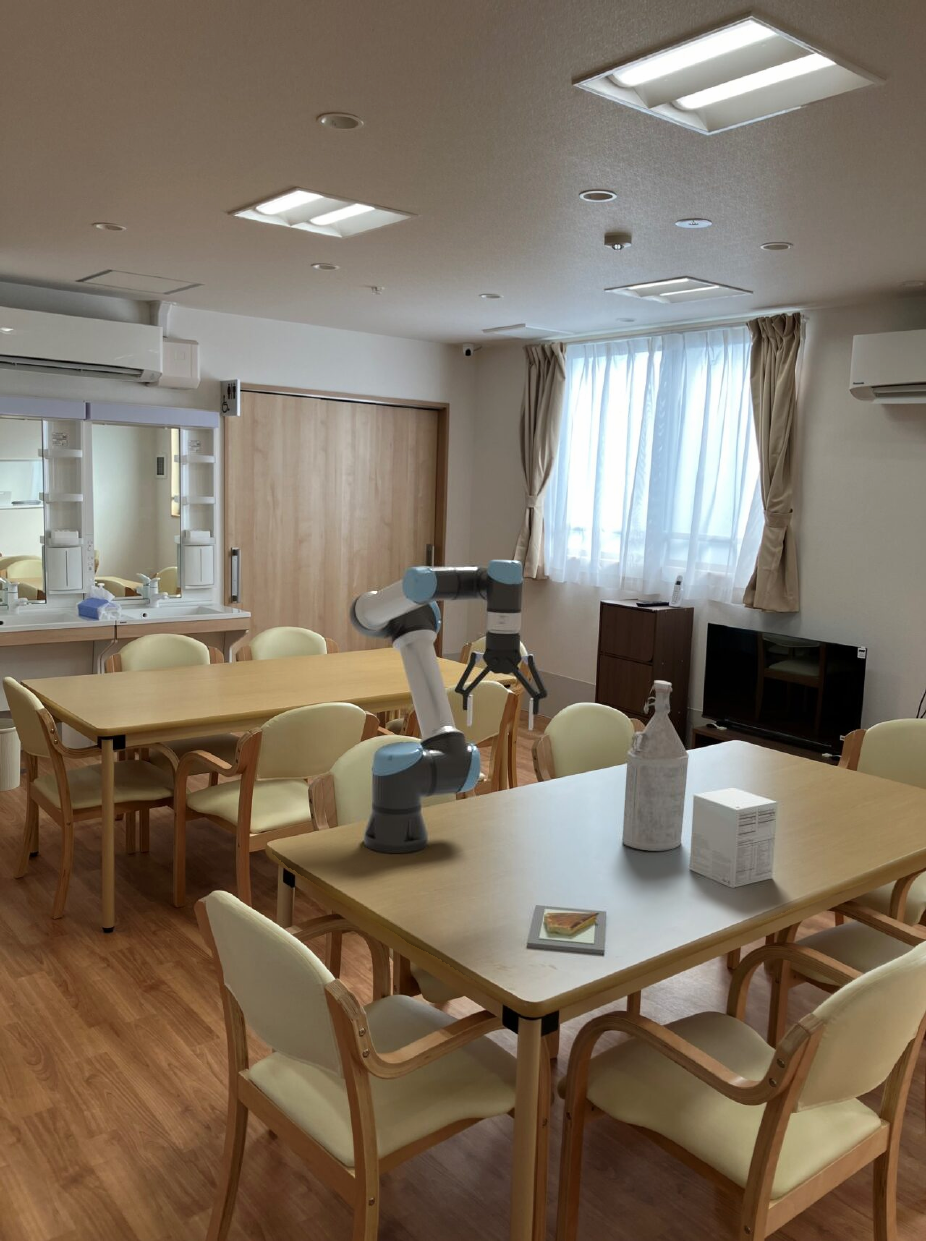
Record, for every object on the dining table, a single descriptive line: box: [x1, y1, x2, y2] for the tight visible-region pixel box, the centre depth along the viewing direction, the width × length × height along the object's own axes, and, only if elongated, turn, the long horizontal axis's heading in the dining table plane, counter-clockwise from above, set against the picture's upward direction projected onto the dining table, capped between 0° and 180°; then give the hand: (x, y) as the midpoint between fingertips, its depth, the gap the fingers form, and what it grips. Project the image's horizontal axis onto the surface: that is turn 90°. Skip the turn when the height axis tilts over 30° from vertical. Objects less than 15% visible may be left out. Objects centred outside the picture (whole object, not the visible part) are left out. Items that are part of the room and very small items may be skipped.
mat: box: [526, 904, 607, 955], centre depth 192 cm, size 14×18×1 cm
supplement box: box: [689, 787, 778, 889], centre depth 224 cm, size 13×13×18 cm
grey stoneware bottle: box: [621, 679, 690, 852], centre depth 242 cm, size 13×17×40 cm
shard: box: [544, 913, 599, 935], centre depth 191 cm, size 11×8×2 cm
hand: (499, 727), depth 222 cm, fingers open, 13 cm apart
